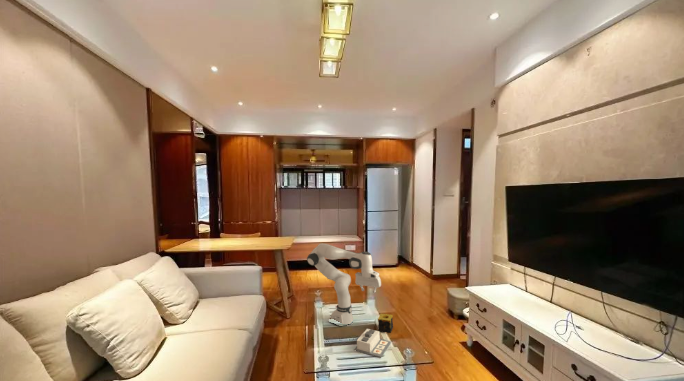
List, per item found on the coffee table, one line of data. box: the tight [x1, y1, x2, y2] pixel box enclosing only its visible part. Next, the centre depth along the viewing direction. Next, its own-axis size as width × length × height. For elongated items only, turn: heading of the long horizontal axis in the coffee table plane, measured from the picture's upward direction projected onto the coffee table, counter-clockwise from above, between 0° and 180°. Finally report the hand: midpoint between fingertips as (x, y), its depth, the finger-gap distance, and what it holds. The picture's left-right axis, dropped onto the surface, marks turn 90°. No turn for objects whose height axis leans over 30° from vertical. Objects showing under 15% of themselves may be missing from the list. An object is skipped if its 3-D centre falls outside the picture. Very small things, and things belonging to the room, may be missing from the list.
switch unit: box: [353, 328, 392, 359], centre depth 182 cm, size 20×19×7 cm
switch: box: [365, 331, 372, 338], centre depth 184 cm, size 4×4×6 cm
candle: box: [377, 313, 394, 334], centre depth 204 cm, size 10×10×10 cm
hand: (368, 291), depth 196 cm, fingers open, 8 cm apart
